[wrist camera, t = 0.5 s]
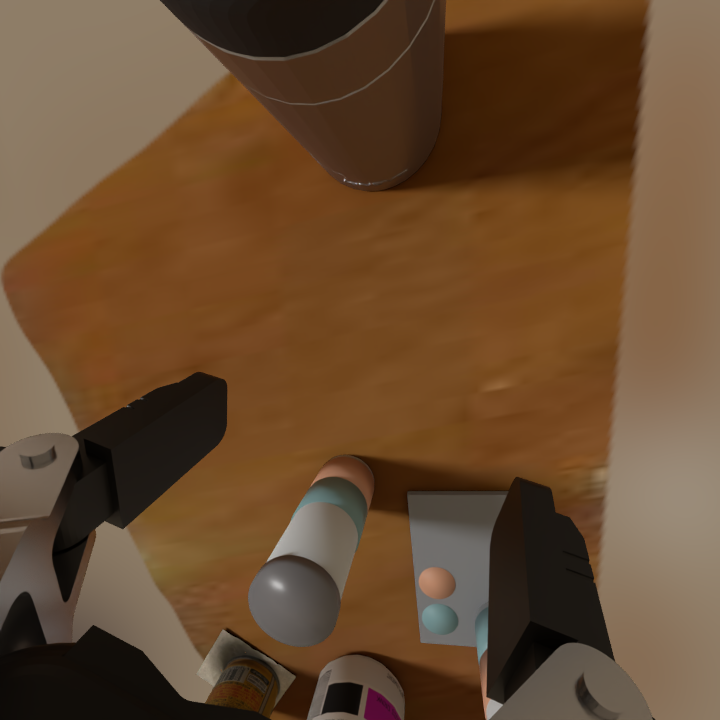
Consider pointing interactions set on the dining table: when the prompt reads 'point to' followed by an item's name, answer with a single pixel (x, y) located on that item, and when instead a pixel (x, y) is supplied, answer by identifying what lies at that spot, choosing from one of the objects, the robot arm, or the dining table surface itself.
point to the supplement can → (357, 691)
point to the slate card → (451, 560)
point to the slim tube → (314, 556)
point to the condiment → (243, 676)
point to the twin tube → (484, 658)
